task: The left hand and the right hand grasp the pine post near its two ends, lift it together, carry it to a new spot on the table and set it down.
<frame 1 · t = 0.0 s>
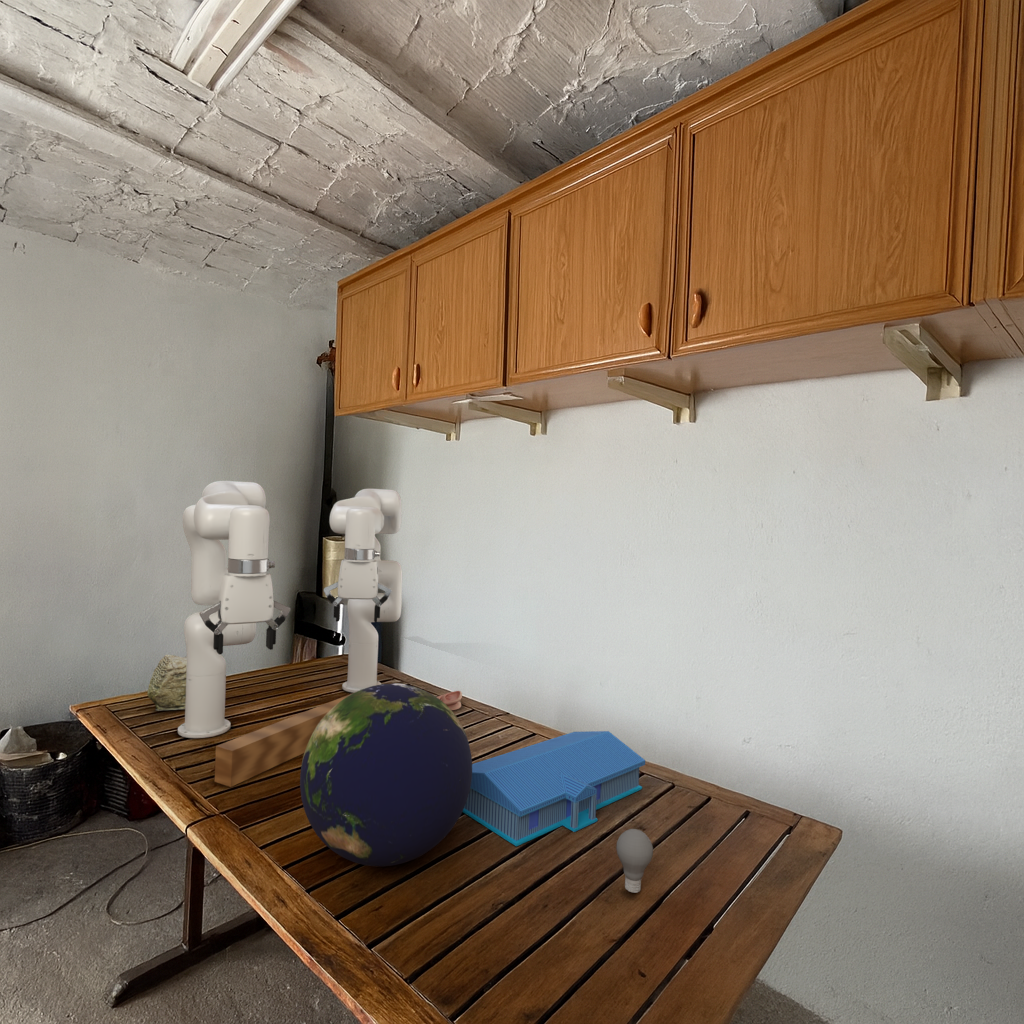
left hand: (244, 650, 130), 31 cm above the table, tool pointing down, fingers open, 9 cm apart
right hand: (356, 620, 165), 31 cm above the table, tool pointing down, fingers open, 9 cm apart
post: (308, 745, 161), on the table
model building: (554, 798, 137), on the table
anatomical model: (439, 706, 195), on the table
globe: (384, 854, 113), on the table
light bulb: (632, 891, 106), on the table
fossil: (183, 706, 185), on the table
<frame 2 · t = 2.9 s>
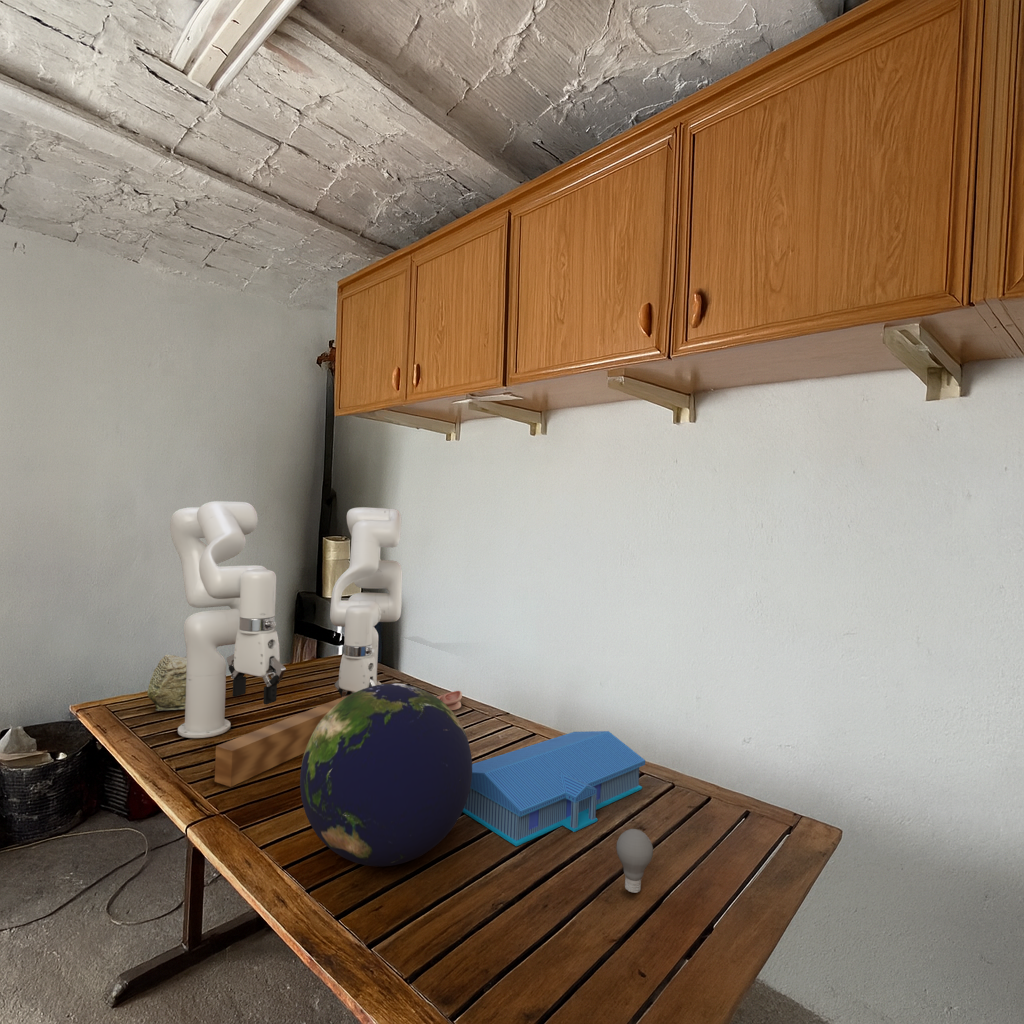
left hand: (254, 698, 144), 17 cm above the table, tool pointing down, fingers open, 9 cm apart
right hand: (355, 714, 177), 3 cm above the table, tool pointing down, fingers closed on post, 5 cm apart
post: (308, 745, 161), on the table, touching right hand
everything else where it was.
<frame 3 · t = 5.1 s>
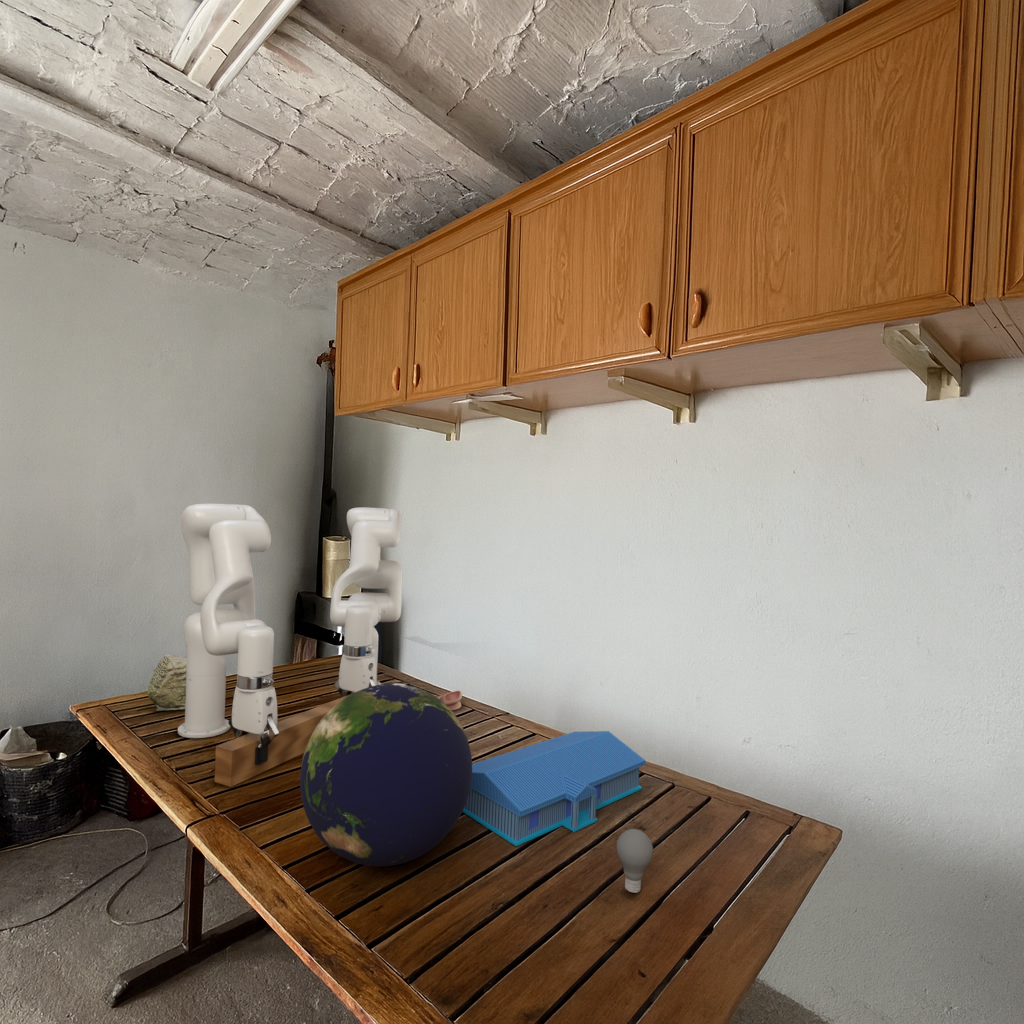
left hand: (252, 759, 144), 3 cm above the table, tool pointing down, fingers closed on post, 5 cm apart
right hand: (355, 714, 177), 3 cm above the table, tool pointing down, fingers closed on post, 5 cm apart
post: (308, 745, 161), on the table, touching left hand, right hand
everything else where it was.
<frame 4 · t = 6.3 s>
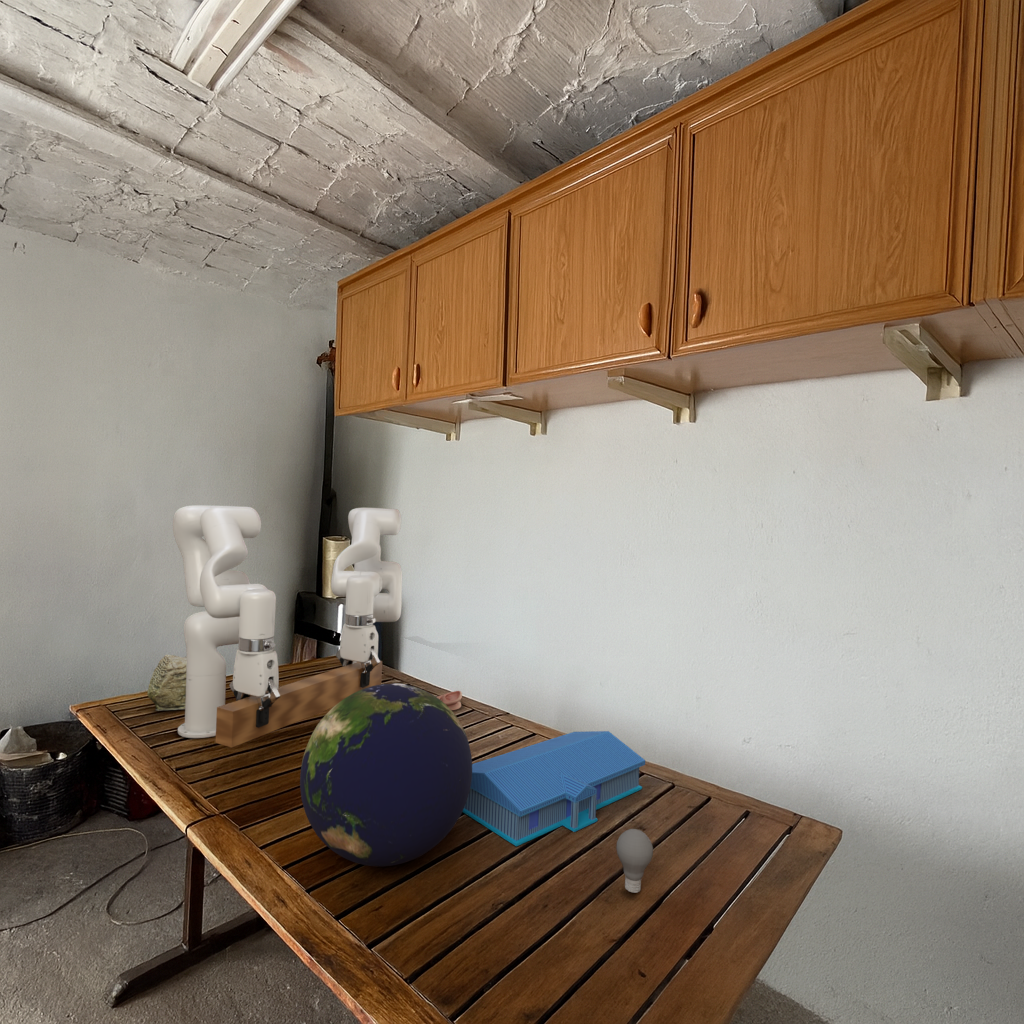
left hand: (252, 722, 145), 11 cm above the table, tool pointing down, fingers closed on post, 5 cm apart
right hand: (356, 683, 177), 11 cm above the table, tool pointing down, fingers closed on post, 5 cm apart
post: (309, 711, 161), point 8 cm above the table, touching left hand, right hand
everything else where it was.
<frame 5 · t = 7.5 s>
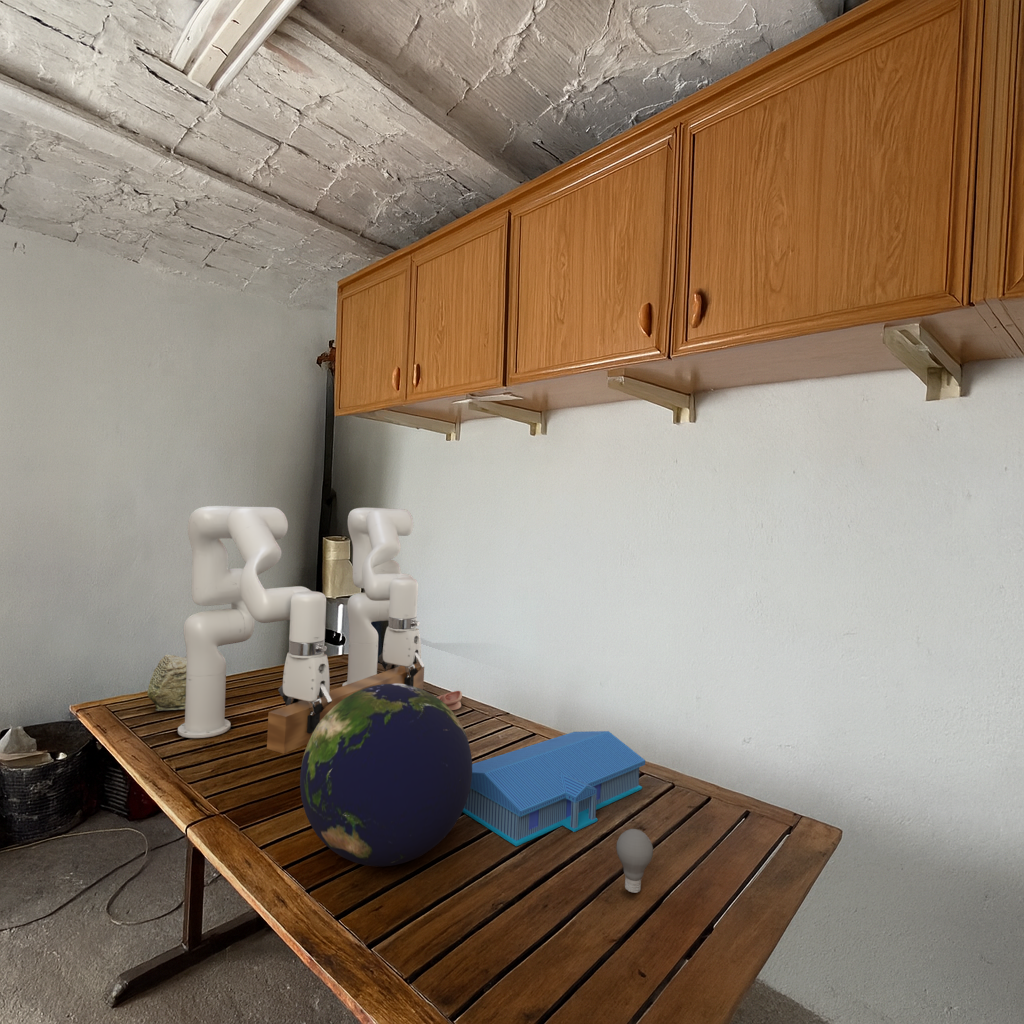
left hand: (303, 727, 141), 12 cm above the table, tool pointing down, fingers closed on post, 5 cm apart
right hand: (399, 688, 173), 12 cm above the table, tool pointing down, fingers closed on post, 5 cm apart
post: (355, 716, 157), point 9 cm above the table, touching left hand, right hand
everything else where it was.
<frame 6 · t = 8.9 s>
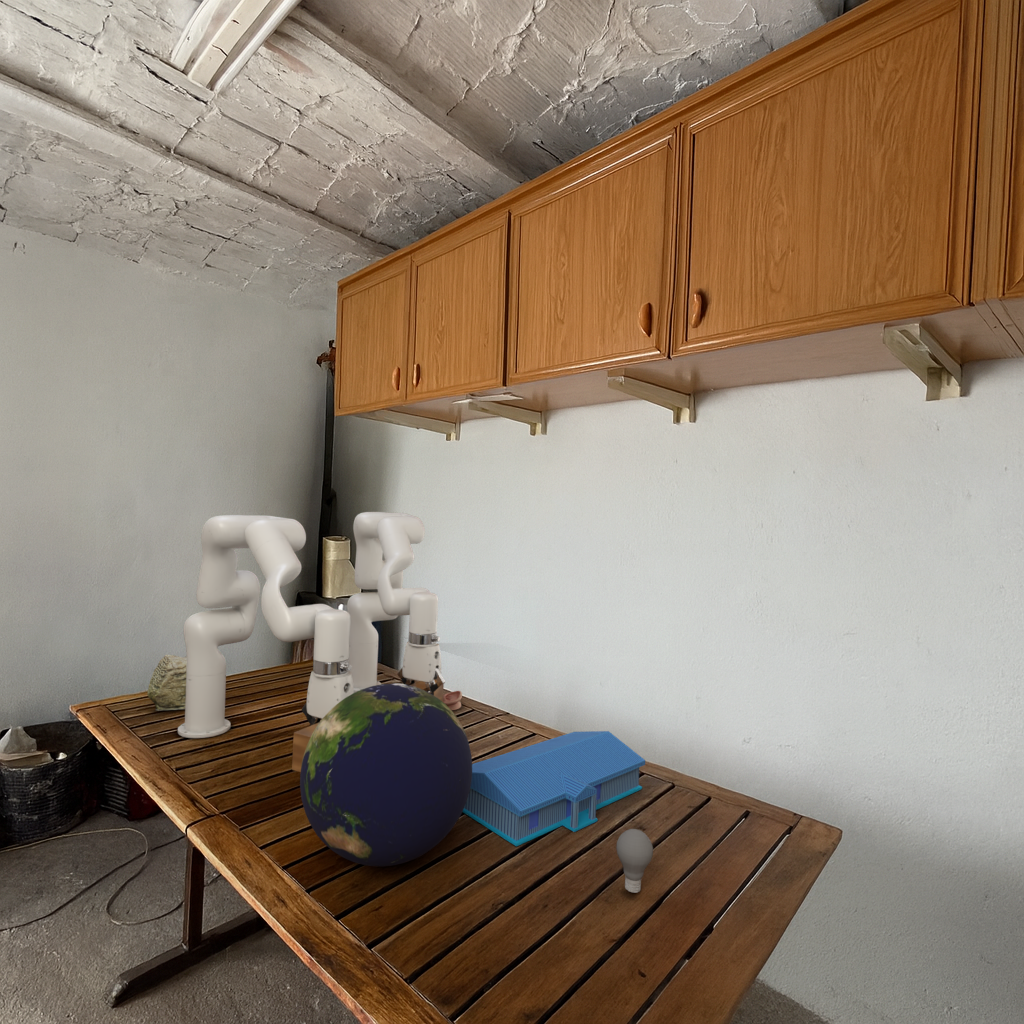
left hand: (327, 747, 139), 8 cm above the table, tool pointing down, fingers closed on post, 5 cm apart
right hand: (419, 704, 172), 8 cm above the table, tool pointing down, fingers closed on post, 5 cm apart
post: (377, 734, 156), point 5 cm above the table, touching left hand, right hand
everything else where it was.
when the left hand's fingers open (4 cm above the table, at t = 9.9 s): post drops 1 cm, on the table.
when the right hand's fingers open (4 cm above the table, at t = 9.9 s): post drops 1 cm, on the table.
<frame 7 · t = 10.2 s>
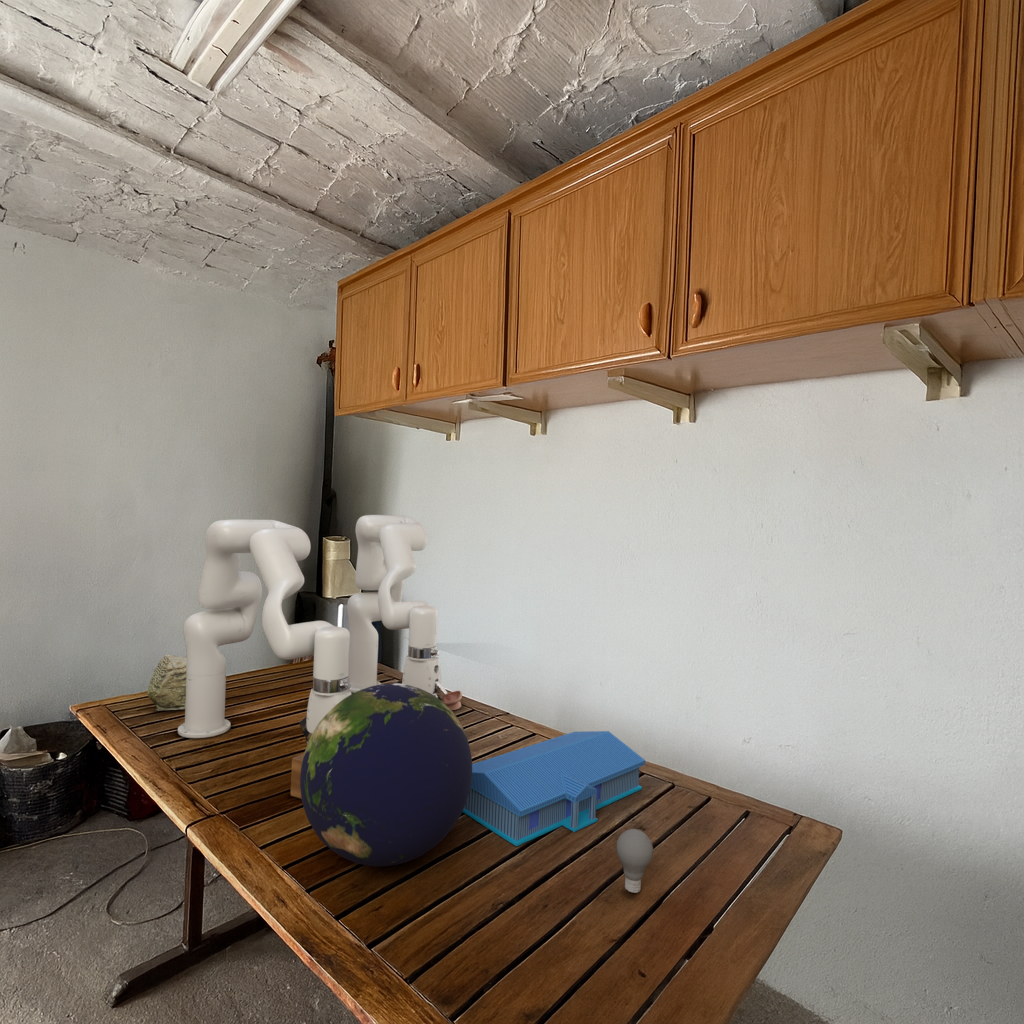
left hand: (327, 763, 139), 5 cm above the table, tool pointing down, fingers open, 7 cm apart
right hand: (419, 716, 172), 5 cm above the table, tool pointing down, fingers open, 7 cm apart
post: (376, 755, 156), on the table
everything else where it was.
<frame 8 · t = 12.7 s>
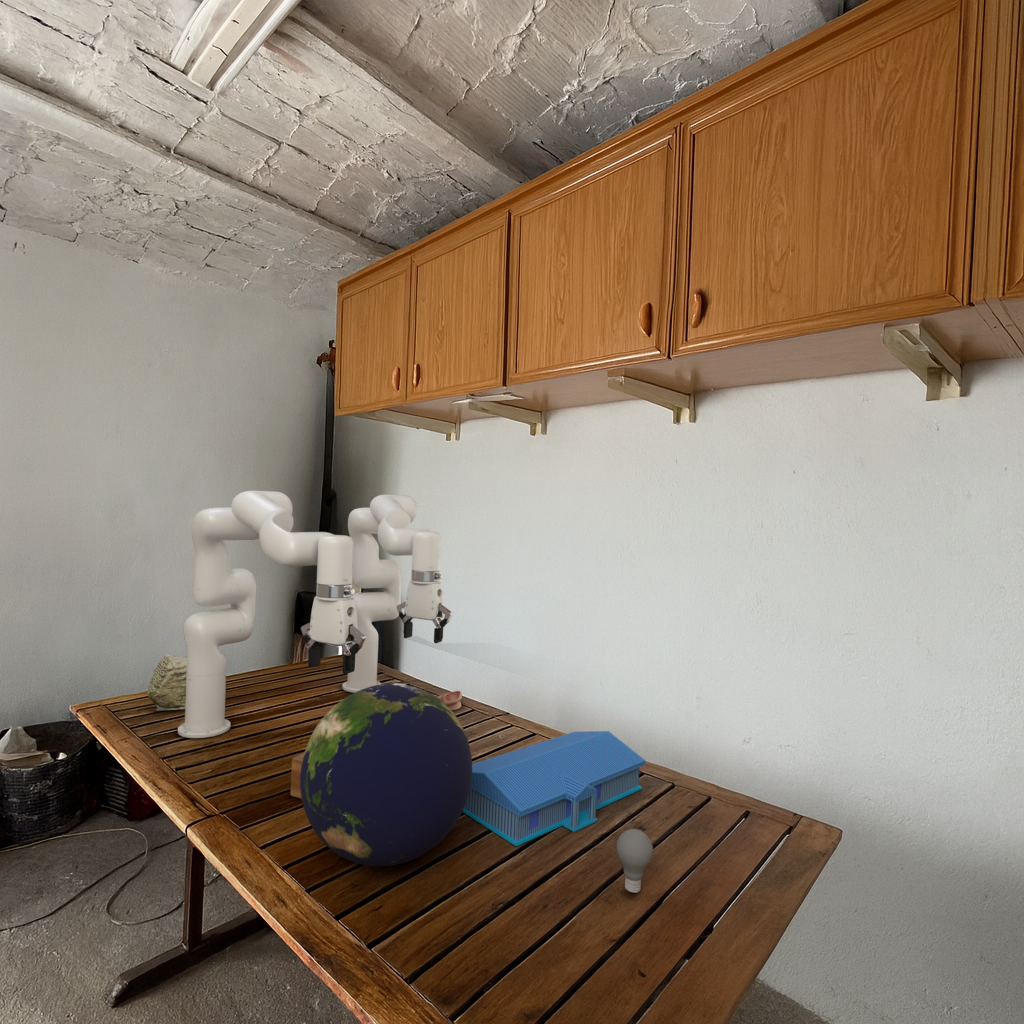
left hand: (331, 669, 139), 26 cm above the table, tool pointing down, fingers open, 9 cm apart
right hand: (422, 639, 171), 26 cm above the table, tool pointing down, fingers open, 9 cm apart
nothing on the table moved.
at the end: post inside the target area (0.5 cm from its centre), on the table; post tilted 0°; post never tilted more than 2° during the clip; both hands held the post at the same time; the left hand is holding nothing; the right hand is holding nothing; post at rest at the end (0.0 cm/s) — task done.
